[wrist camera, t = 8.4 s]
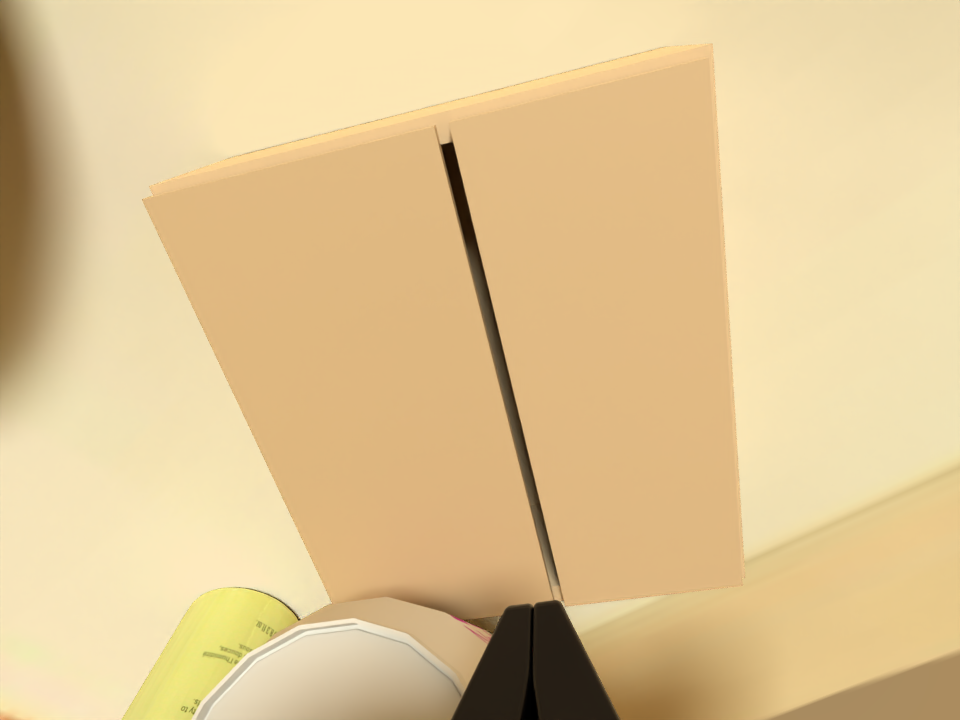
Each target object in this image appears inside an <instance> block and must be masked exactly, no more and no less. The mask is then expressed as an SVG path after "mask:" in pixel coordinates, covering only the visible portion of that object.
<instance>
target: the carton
mask: <svg viewBox="0 0 960 720" xmlns="http://www.w3.org/2000/svg"><path fill="white" fill-rule="evenodd" d="M701 58H709V66H710V82H711V98H712V113H713V129H714V145H715V160H716V176H717V192H718V207H719V223H720V239H721V254H722V270H723V286H724V301H725V317H726V333H727V349H728V364H729V380H730V396H731V411H732V427H733V443H734V458H735V474H736V490H737V505H738V521H739V537H740V552H741V568H742V578H745V569H744V553H743V536H742V520H741V504H740V487H739V471H738V454H737V438H736V422H735V405H734V389H733V372H732V356H731V340H730V323H729V307H728V290H727V274H726V258H725V241H724V225H723V208H722V192H721V175H720V159H719V143H718V126H717V110H716V93H715V77H714V61H713V44H699V45H686V46H673V47H663V48H659V49H655V50H651V51H647V52H643V53H639V54H635V55H631V56H627V57H623V58H620V59H616V60H612V61H608V62H604V63H600V64H596V65H592V66H588V67H584V68H580V69H576V70H573V71H569V72H565V73H561V74H557V75H553V76H549V77H545V78H541V79H537V80H533V81H529V82H525V83H522V84H518V85H514V86H510V87H506V88H502V89H498V90H494V91H490V92H486V93H482V94H478V95H475V96H471V97H467V98H463V99H459V100H455V101H451V102H447V103H443V104H439V105H435V106H431V107H428V108H424V109H420V110H416V111H412V112H408V113H404V114H400V115H396V116H392V117H388V118H384V119H381V120H377V121H373V122H369V123H365V124H361V125H357V126H353V127H349V128H345V129H341V130H337V131H334V132H330V133H326V134H322V135H318V136H314V137H310V138H306V139H302V140H298V141H294V142H290V143H287V144H283V145H279V146H275V147H271V148H267V149H263V150H259V151H255V152H251V153H247V154H243V155H240V156H236V157H232V158H228V159H225V160H223V161H220V162H217V163H214V164H211V165H208V166H205V167H203V168H200V169H197V170H194V171H191V172H188V173H185V174H182V175H180V176H177V177H174V178H171V179H168V180H165V181H162V182H160V183H157V184H154V185H151V186H149V187H150V189H151V192H152V194H153V196H150V197H147V198H145V199H142V201H143V203H144V205H145V207H146V209H147V211H148V213H149V216H150V218H151V220H152V222H153V224H154V226H155V228H156V230H157V233H158V235H159V237H160V239H161V241H162V243H163V245H164V247H165V249H166V252H167V254H168V256H169V258H170V260H171V262H172V264H173V266H174V269H175V271H176V273H177V275H178V277H179V279H180V281H181V283H182V286H183V288H184V290H185V292H186V294H187V296H188V298H189V300H190V303H191V305H192V307H193V309H194V311H195V313H196V315H197V317H198V319H199V322H200V324H201V326H202V328H203V330H204V332H205V334H206V336H207V339H208V341H209V343H210V345H211V347H212V349H213V351H214V353H215V356H216V358H217V360H218V362H219V364H220V366H221V368H222V370H223V373H224V375H225V377H226V379H227V381H228V383H229V385H230V387H231V389H232V392H233V394H234V396H235V398H236V400H237V402H238V404H239V406H240V409H241V411H242V413H243V415H244V417H245V419H246V421H247V423H248V426H249V428H250V430H251V432H252V434H253V436H254V438H255V440H256V443H257V445H258V447H259V449H260V451H261V453H262V455H263V457H264V459H265V462H266V464H267V466H268V468H269V470H270V472H271V474H272V476H273V479H274V481H275V483H276V485H277V487H278V489H279V491H280V493H281V496H282V498H283V500H284V502H285V504H286V506H287V508H288V510H289V512H290V515H291V517H292V519H293V521H294V523H295V525H296V527H297V529H298V532H299V534H300V536H301V538H302V540H303V542H304V544H305V546H306V549H307V551H308V553H309V555H310V557H311V559H312V561H313V563H314V566H315V568H316V570H317V572H318V574H319V576H320V578H321V580H322V582H323V585H324V587H325V589H326V591H327V593H328V595H329V597H330V599H331V602H332V604H336V603H343V602H350V601H358V600H365V599H372V598H379V597H390V598H394V599H398V600H401V601H405V602H409V603H412V604H416V605H420V606H423V607H427V608H431V609H434V610H438V611H442V612H445V613H447V614H449V615H452V616H454V617H456V618H459V619H461V620H470V619H478V618H486V617H494V616H502V614H503V612H504V610H505V609H506V608H507V607H508V606H511V605H518V604H526V603H529V604H532V605H533V607H534V604H535V603H537V602H543V601H551V600H558V601H563V600H564V599H563V595H562V591H561V586H560V582H559V578H558V574H557V570H556V566H555V562H554V557H553V553H552V549H551V545H550V541H549V537H548V533H547V528H546V524H545V520H544V516H543V512H542V508H541V504H540V499H539V495H538V491H537V487H536V483H535V479H534V475H533V470H532V466H531V462H530V458H529V454H528V450H527V446H526V441H525V437H524V433H523V429H522V425H521V421H520V417H519V412H518V408H517V404H516V400H515V396H514V392H513V388H512V383H511V379H510V375H509V371H508V367H507V363H506V359H505V354H504V350H503V346H502V342H501V338H500V334H499V330H498V325H497V321H496V317H495V313H494V309H493V305H492V300H491V296H490V292H489V288H488V284H487V280H486V276H485V271H484V267H483V263H482V259H481V255H480V251H479V247H478V242H477V238H476V234H475V230H474V226H473V222H472V218H471V213H470V209H469V205H468V201H467V197H466V193H465V189H464V184H463V180H462V176H461V172H460V168H459V164H458V160H457V155H456V151H455V147H454V143H453V139H452V135H451V131H450V126H449V122H450V121H453V120H457V119H461V118H465V117H469V116H473V115H477V114H481V113H485V112H489V111H493V110H497V109H501V108H505V107H509V106H513V105H517V104H521V103H525V102H529V101H533V100H537V99H541V98H545V97H549V96H553V95H557V94H561V93H565V92H569V91H573V90H577V89H581V88H585V87H589V86H593V85H597V84H601V83H605V82H609V81H613V80H617V79H621V78H625V77H629V76H633V75H637V74H641V73H645V72H649V71H653V70H657V69H661V68H665V67H669V66H673V65H677V64H681V63H685V62H689V61H693V60H697V59H701Z"/></svg>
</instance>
